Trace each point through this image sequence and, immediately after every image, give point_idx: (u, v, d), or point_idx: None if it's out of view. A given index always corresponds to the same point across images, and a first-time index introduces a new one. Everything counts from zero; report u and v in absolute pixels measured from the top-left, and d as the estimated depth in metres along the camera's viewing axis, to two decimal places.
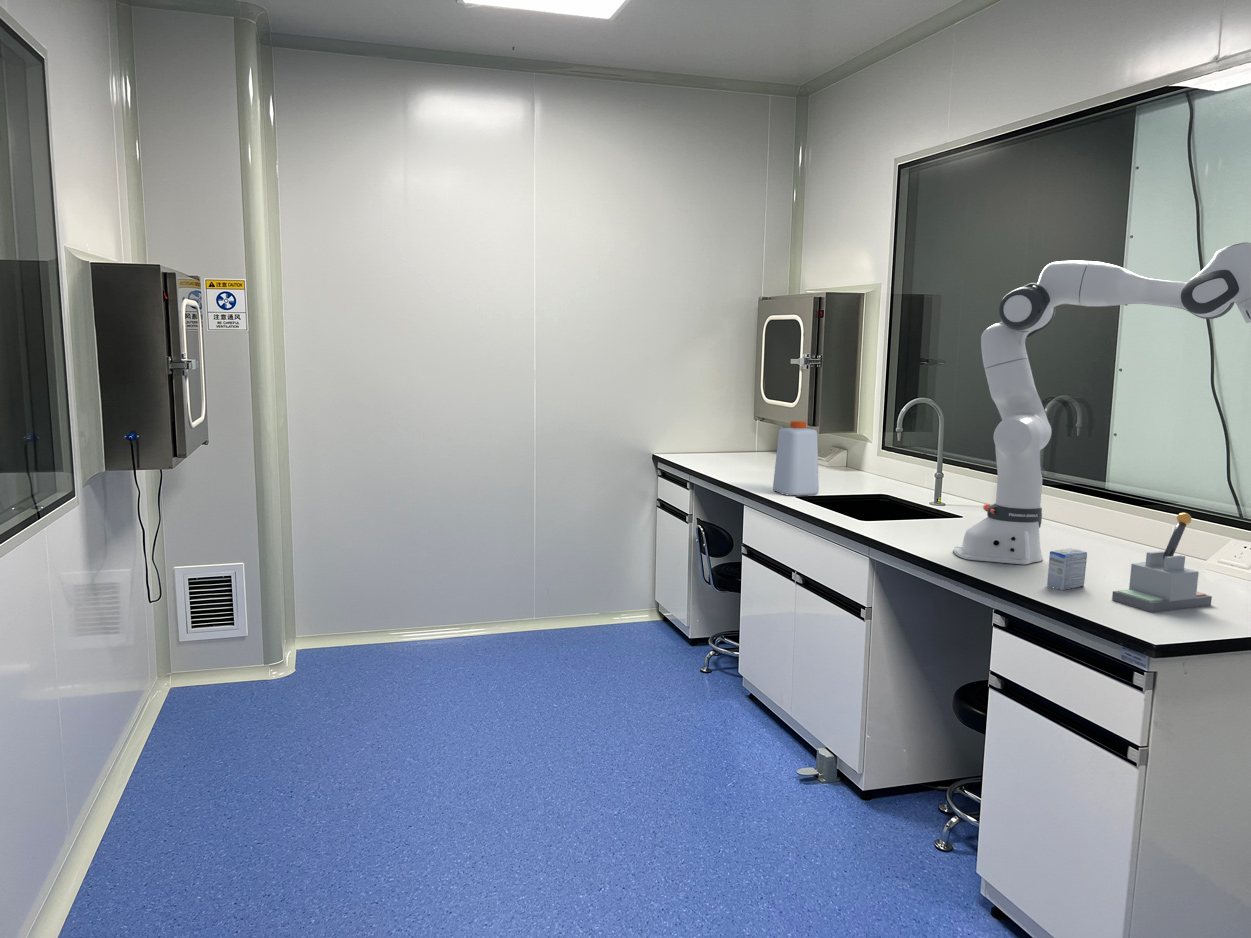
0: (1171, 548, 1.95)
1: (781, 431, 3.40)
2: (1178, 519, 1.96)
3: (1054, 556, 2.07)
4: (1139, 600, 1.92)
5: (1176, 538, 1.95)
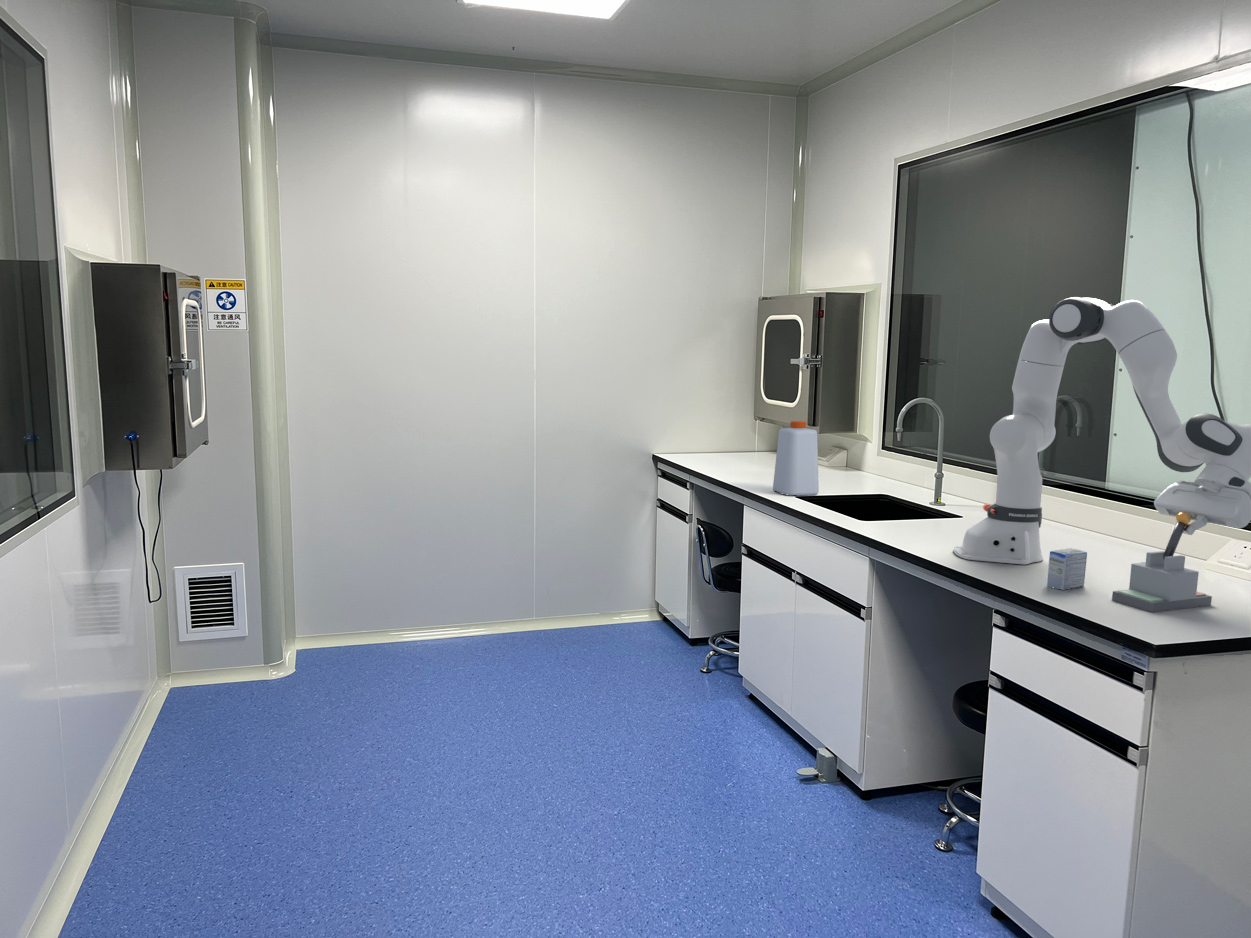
0: (1170, 548, 1.95)
1: (781, 431, 3.40)
2: (1177, 519, 1.96)
3: (1054, 556, 2.07)
4: (1139, 600, 1.92)
5: (1176, 538, 1.95)
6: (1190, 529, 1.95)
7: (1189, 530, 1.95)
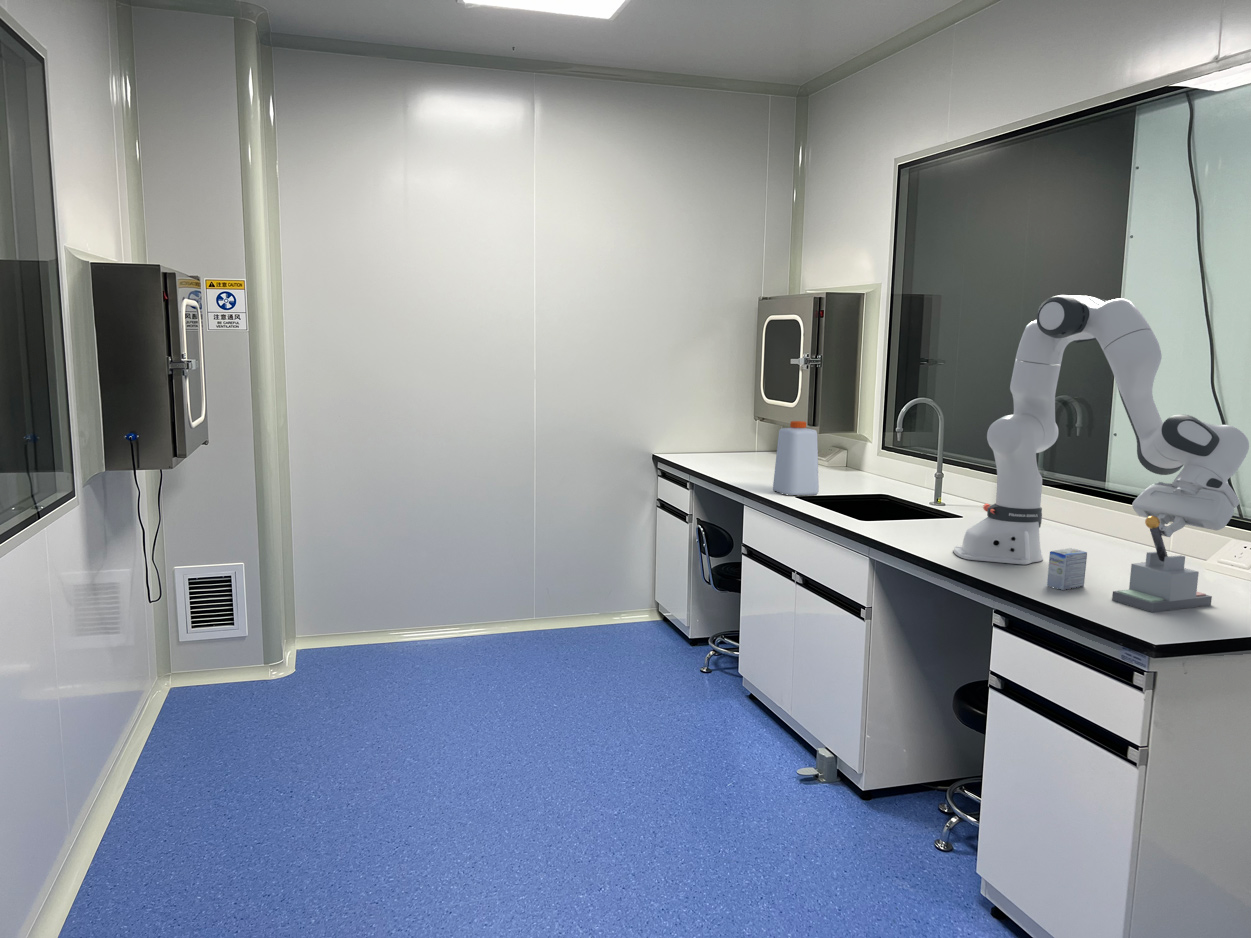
0: (1161, 552, 1.94)
1: (781, 431, 3.40)
2: (1148, 527, 1.93)
3: (1054, 556, 2.07)
4: (1139, 600, 1.92)
5: (1159, 542, 1.93)
6: (1168, 531, 1.92)
7: (1167, 532, 1.92)
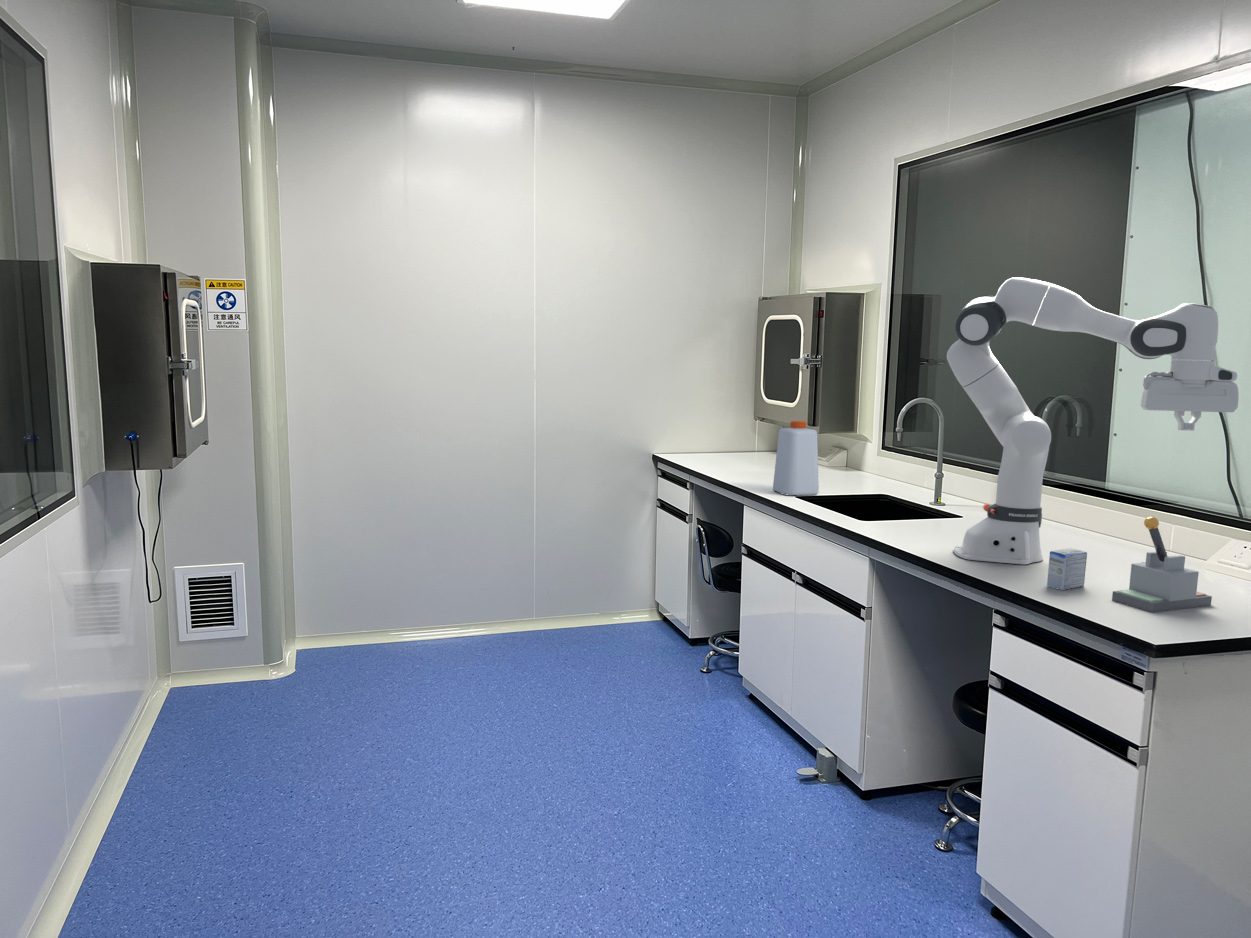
0: (1160, 553, 1.94)
1: (781, 431, 3.40)
2: (1148, 528, 1.93)
3: (1054, 556, 2.07)
4: (1139, 600, 1.92)
5: (1158, 543, 1.93)
6: None
7: None
